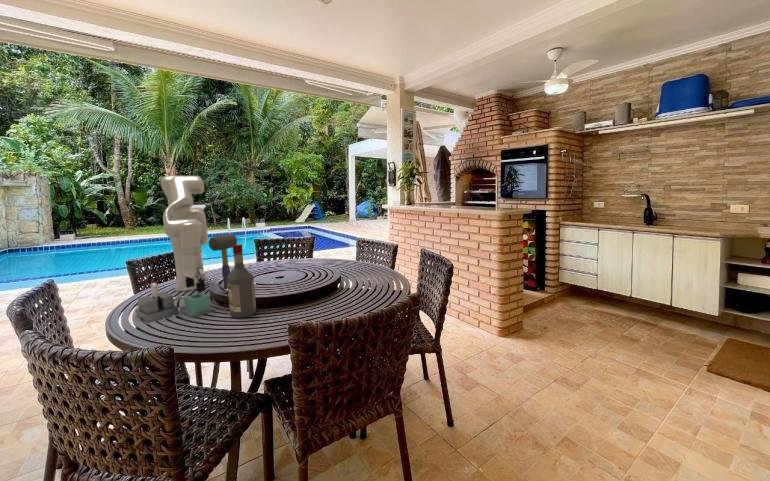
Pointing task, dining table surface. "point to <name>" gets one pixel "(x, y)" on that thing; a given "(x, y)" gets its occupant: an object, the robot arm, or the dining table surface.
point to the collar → (197, 303)
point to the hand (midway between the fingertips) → (195, 288)
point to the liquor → (240, 287)
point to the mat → (197, 313)
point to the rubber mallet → (223, 251)
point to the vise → (157, 305)
